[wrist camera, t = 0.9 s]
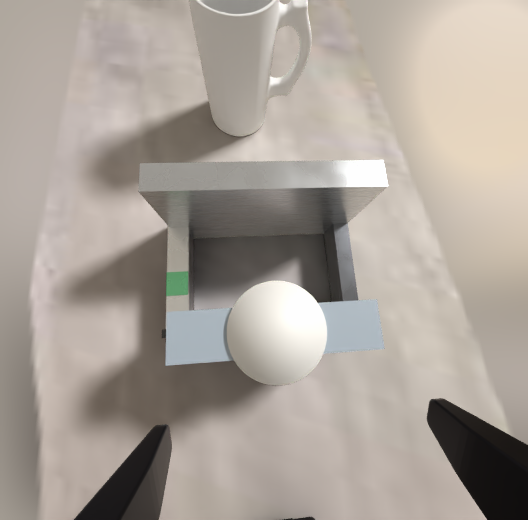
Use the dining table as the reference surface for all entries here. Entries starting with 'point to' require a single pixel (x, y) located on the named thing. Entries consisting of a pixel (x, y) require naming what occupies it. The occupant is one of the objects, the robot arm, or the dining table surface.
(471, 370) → the dining table surface
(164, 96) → the dining table surface
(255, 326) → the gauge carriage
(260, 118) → the mug
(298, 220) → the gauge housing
